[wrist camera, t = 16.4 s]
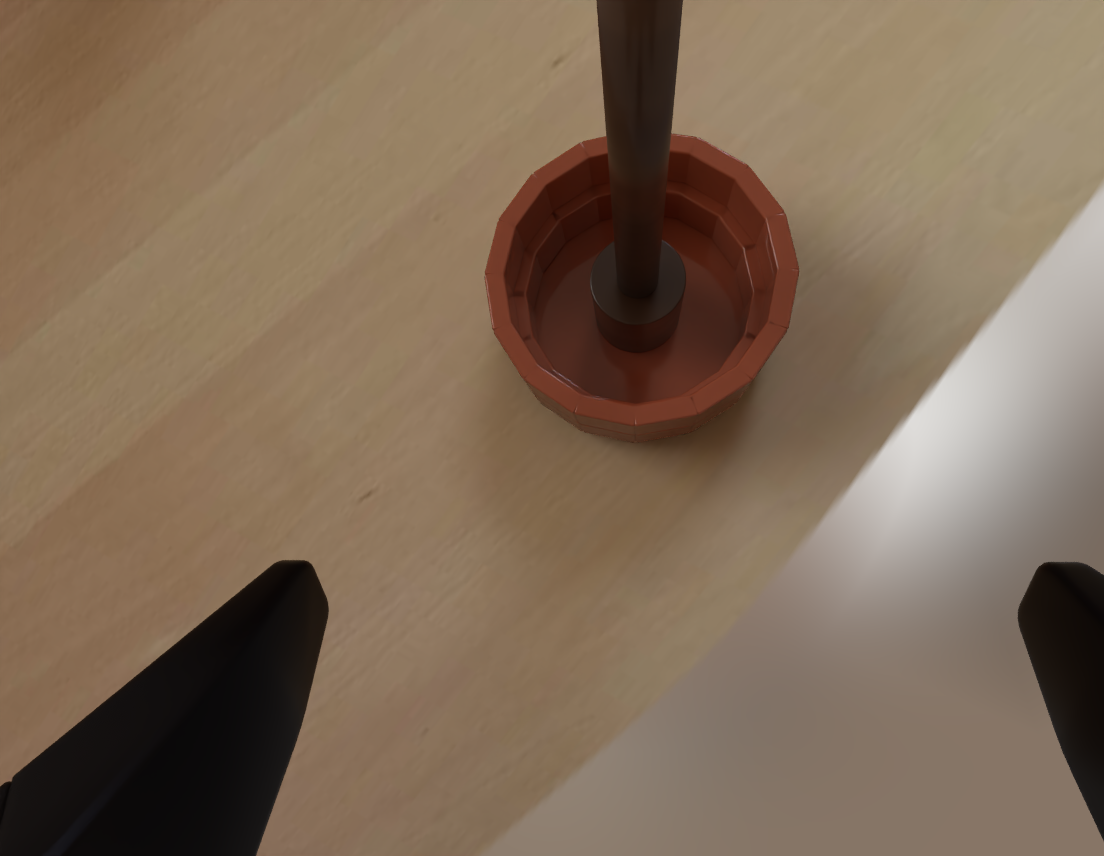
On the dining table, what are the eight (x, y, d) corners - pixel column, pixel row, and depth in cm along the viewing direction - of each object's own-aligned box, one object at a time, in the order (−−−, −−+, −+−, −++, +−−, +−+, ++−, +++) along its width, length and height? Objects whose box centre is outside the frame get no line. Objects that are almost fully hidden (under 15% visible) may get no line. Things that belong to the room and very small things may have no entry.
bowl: (820, 280, 23) (859, 226, 19) (671, 495, 22) (679, 486, 18) (605, 154, 24) (599, 80, 20) (462, 351, 24) (428, 314, 20)
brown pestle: (684, 347, 22) (809, -135, 6) (600, 357, 22) (514, -78, 7) (674, 267, 23) (765, -368, 7) (591, 278, 23) (491, -306, 7)
